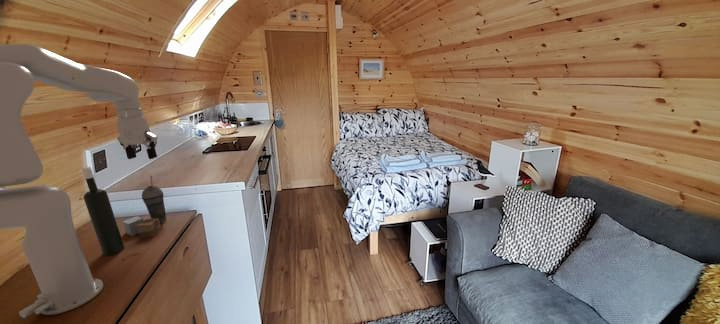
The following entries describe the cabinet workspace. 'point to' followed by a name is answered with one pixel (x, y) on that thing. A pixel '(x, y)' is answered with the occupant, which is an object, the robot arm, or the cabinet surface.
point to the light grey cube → (132, 225)
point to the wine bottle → (102, 216)
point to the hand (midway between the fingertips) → (142, 158)
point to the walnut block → (149, 227)
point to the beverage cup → (154, 202)
